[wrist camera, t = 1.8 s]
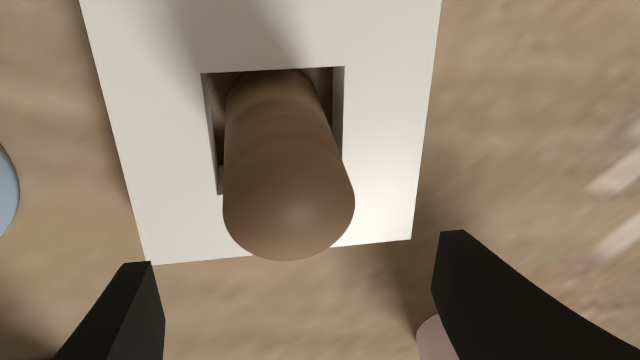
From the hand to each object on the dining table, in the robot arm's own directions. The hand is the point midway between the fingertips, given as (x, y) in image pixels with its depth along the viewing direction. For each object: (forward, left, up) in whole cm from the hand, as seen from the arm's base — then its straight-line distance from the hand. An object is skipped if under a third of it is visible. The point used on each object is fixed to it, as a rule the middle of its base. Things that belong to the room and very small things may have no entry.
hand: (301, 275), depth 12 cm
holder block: (0, 0, -10) cm, 10 cm away
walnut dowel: (0, 0, -10) cm, 10 cm away
